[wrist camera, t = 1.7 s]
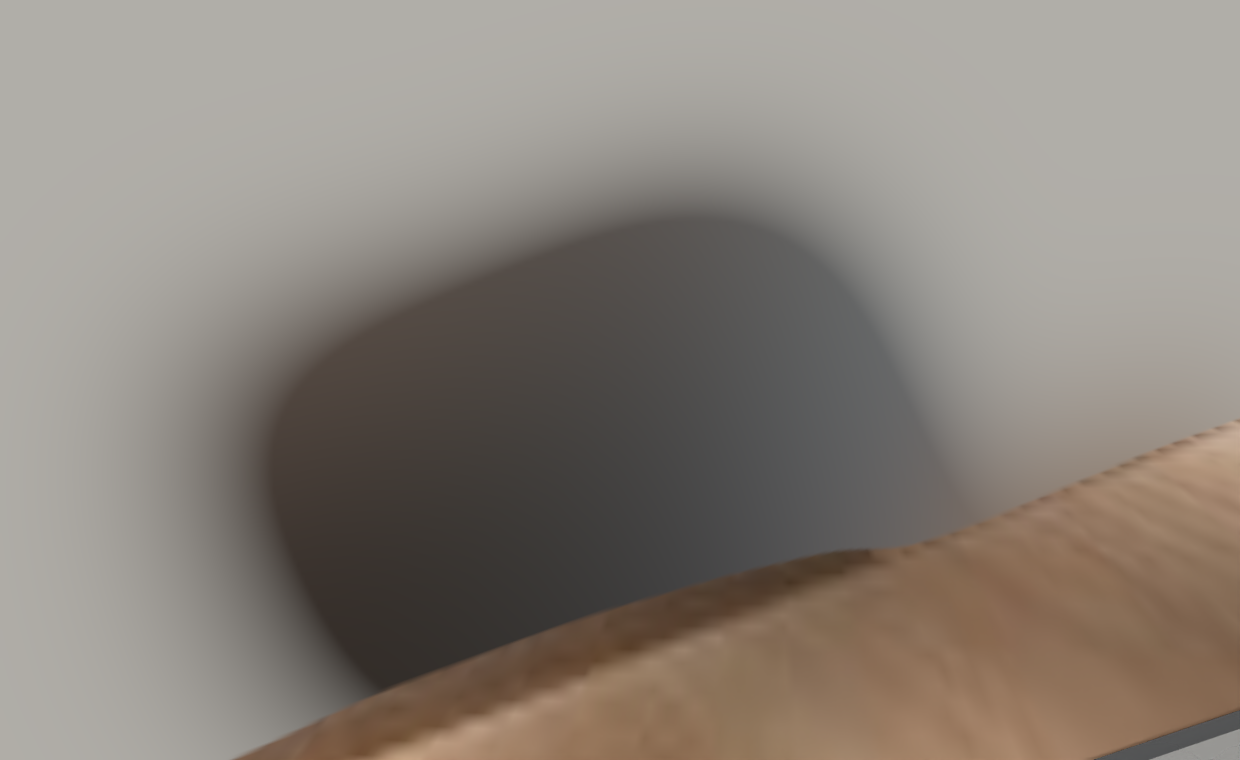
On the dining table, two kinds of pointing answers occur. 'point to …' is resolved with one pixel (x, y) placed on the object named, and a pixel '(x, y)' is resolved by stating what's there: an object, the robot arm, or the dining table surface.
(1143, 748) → the plate
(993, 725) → the dining table surface
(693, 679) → the dining table surface
